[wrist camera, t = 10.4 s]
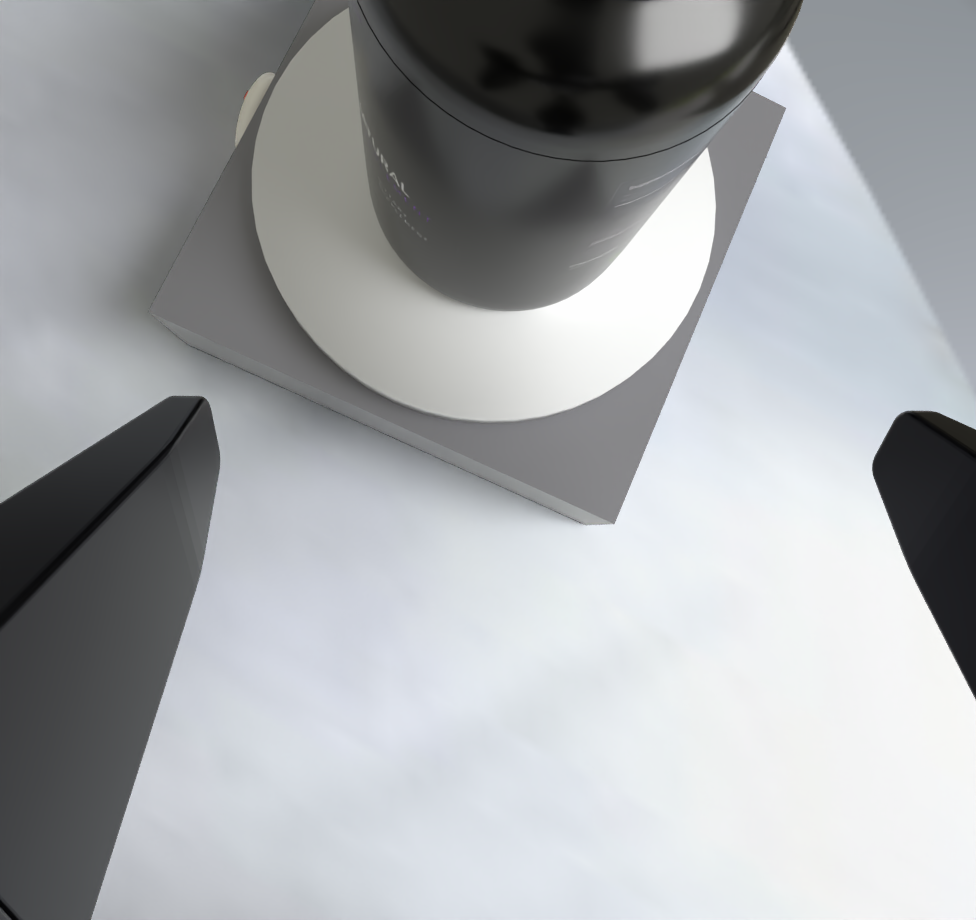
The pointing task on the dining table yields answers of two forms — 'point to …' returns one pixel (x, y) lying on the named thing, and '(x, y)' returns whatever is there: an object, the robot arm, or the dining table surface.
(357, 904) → the dining table surface
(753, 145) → the kitchen scale
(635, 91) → the supplement bottle
